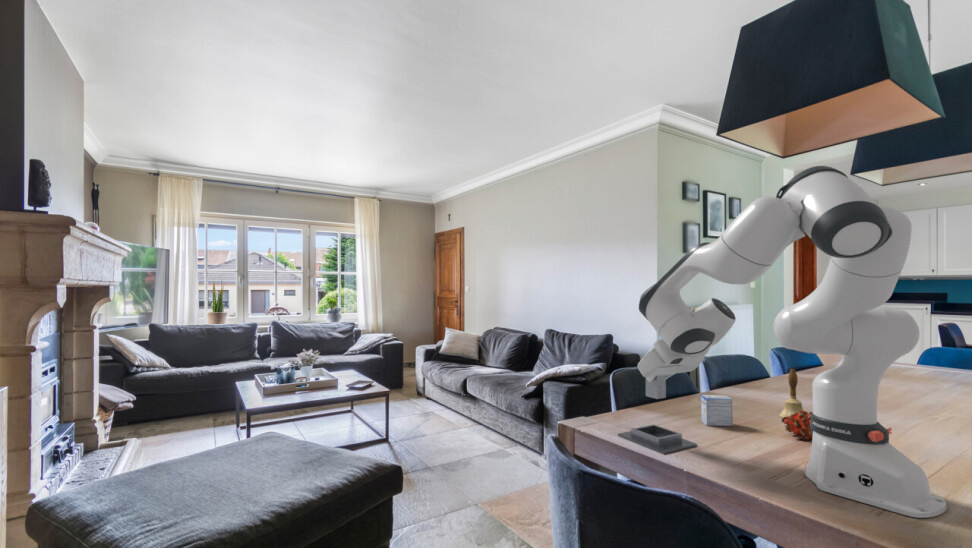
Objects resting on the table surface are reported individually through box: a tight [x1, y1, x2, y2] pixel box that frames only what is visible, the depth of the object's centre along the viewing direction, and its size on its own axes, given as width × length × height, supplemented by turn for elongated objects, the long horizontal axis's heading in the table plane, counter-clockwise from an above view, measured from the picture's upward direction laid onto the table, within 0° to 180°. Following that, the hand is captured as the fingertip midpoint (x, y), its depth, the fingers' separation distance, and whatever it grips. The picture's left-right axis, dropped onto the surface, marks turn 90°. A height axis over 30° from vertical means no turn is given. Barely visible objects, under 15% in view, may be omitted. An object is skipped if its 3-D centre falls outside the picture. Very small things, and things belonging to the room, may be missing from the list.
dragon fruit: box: [781, 410, 813, 442], centre depth 126 cm, size 8×8×12 cm
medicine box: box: [700, 394, 734, 427], centre depth 139 cm, size 8×4×9 cm, turn 84°
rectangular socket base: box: [617, 423, 698, 455], centre depth 123 cm, size 16×13×3 cm
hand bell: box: [778, 368, 804, 419], centre depth 147 cm, size 8×8×16 cm
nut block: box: [645, 375, 667, 400], centre depth 124 cm, size 4×4×9 cm
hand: (655, 379), depth 124 cm, fingers closed on nut block, 3 cm apart
